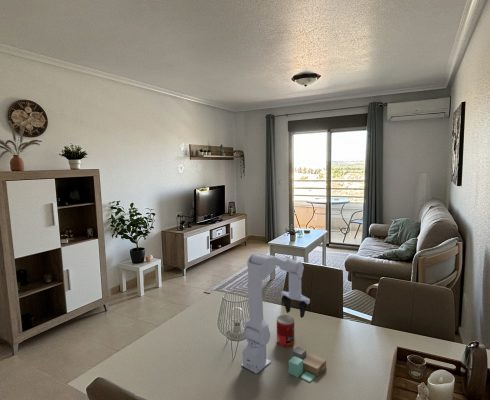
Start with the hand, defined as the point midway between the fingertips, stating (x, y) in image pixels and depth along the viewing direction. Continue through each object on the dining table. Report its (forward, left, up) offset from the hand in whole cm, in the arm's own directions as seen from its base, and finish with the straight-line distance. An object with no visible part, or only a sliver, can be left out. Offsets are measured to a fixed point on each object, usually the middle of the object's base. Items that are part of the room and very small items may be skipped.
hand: (295, 314), depth 148 cm
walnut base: (-16, -19, -10) cm, 27 cm away
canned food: (-8, 0, -10) cm, 13 cm away
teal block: (-23, -15, -10) cm, 29 cm away
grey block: (-16, -12, -10) cm, 23 cm away
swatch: (-22, -20, -10) cm, 32 cm away
